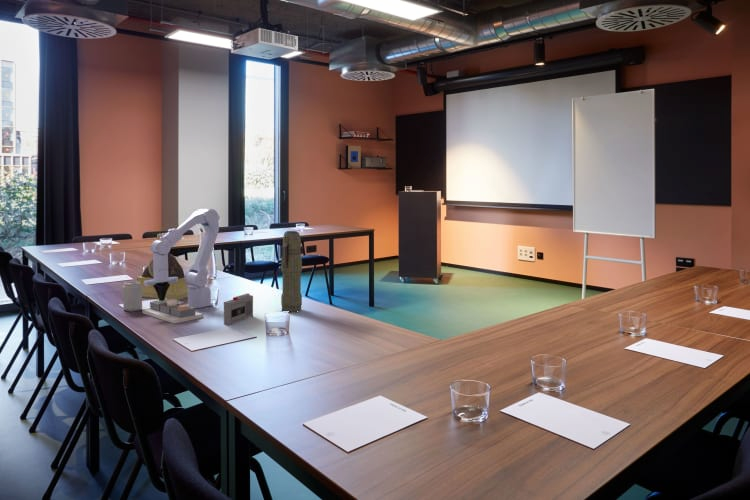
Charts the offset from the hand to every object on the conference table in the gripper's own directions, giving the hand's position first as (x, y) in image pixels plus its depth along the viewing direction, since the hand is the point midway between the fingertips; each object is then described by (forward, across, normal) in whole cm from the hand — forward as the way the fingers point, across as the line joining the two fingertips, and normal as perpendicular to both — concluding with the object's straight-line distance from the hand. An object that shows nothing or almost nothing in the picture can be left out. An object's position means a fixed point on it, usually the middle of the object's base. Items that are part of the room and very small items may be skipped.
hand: (161, 300), depth 230 cm
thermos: (+5, -40, +37) cm, 55 cm away
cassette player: (+5, -14, +34) cm, 37 cm away
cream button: (+2, 0, +8) cm, 8 cm away
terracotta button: (+3, 0, +16) cm, 16 cm away
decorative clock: (+6, -18, -31) cm, 36 cm away
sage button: (+3, 0, 0) cm, 3 cm away
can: (+5, +6, -13) cm, 15 cm away
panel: (+5, 0, +8) cm, 9 cm away
